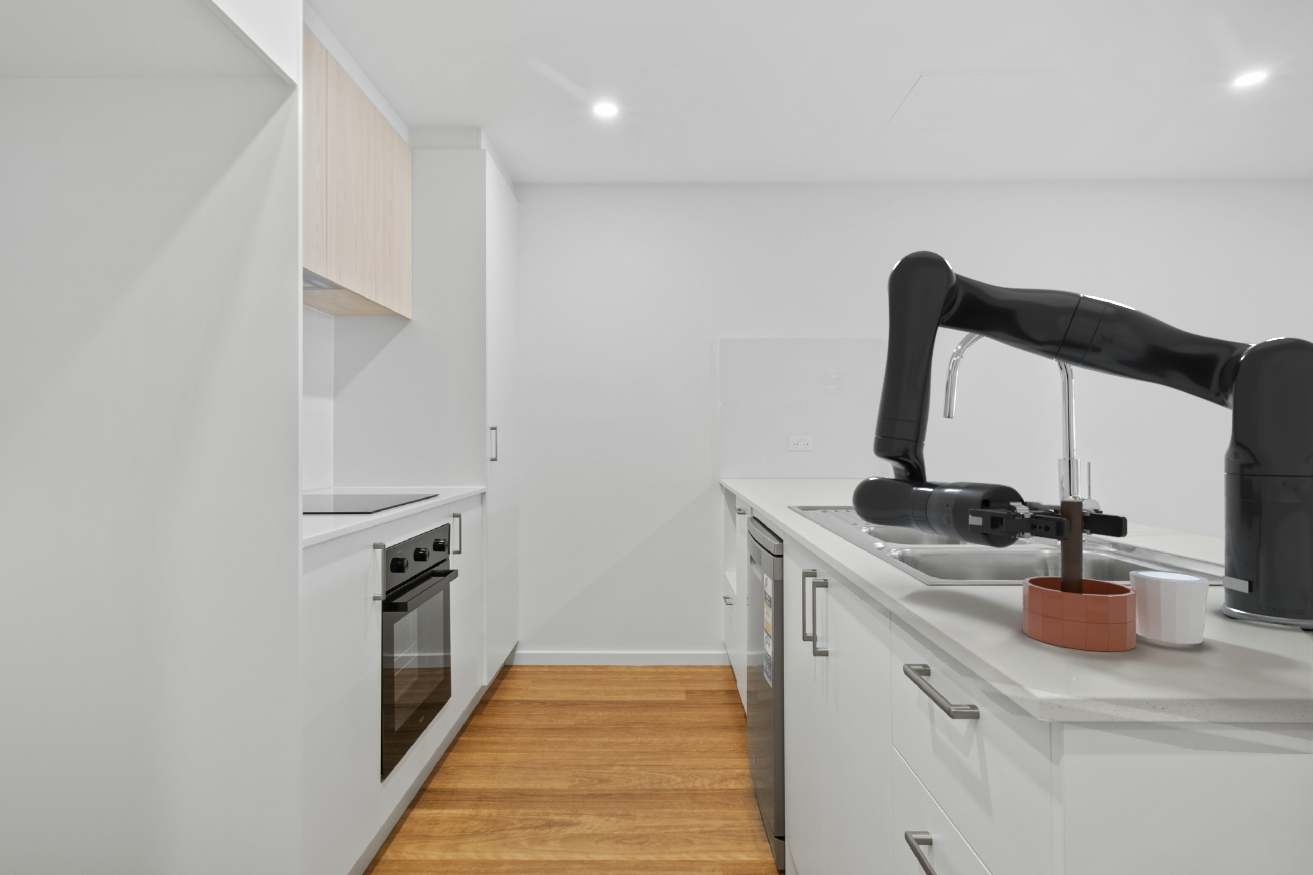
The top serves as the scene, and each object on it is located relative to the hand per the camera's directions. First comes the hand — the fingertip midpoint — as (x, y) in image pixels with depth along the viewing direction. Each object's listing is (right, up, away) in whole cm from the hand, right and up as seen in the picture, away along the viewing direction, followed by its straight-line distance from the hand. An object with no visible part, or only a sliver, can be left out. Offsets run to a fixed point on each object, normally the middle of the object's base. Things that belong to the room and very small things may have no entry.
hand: (1096, 528), depth 70 cm
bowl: (-1, -12, +2) cm, 12 cm away
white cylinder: (+9, -13, +3) cm, 16 cm away
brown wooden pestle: (-1, -12, +2) cm, 12 cm away
